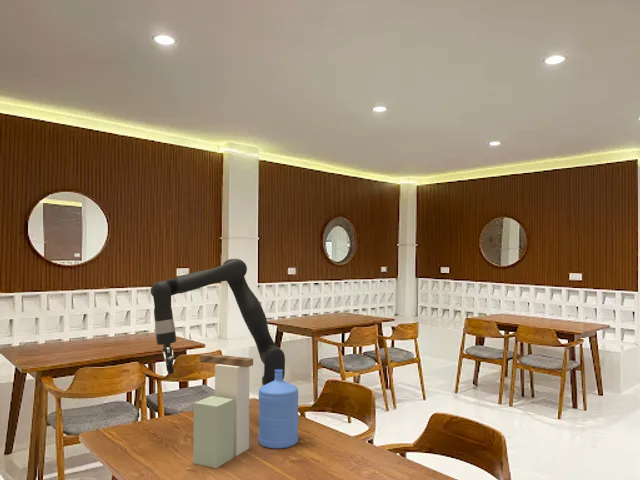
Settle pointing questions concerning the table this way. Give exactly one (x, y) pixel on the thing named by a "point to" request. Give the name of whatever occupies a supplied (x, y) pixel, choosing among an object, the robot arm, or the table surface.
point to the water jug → (278, 413)
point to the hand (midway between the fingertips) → (170, 372)
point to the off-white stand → (235, 400)
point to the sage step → (213, 431)
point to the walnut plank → (226, 360)
